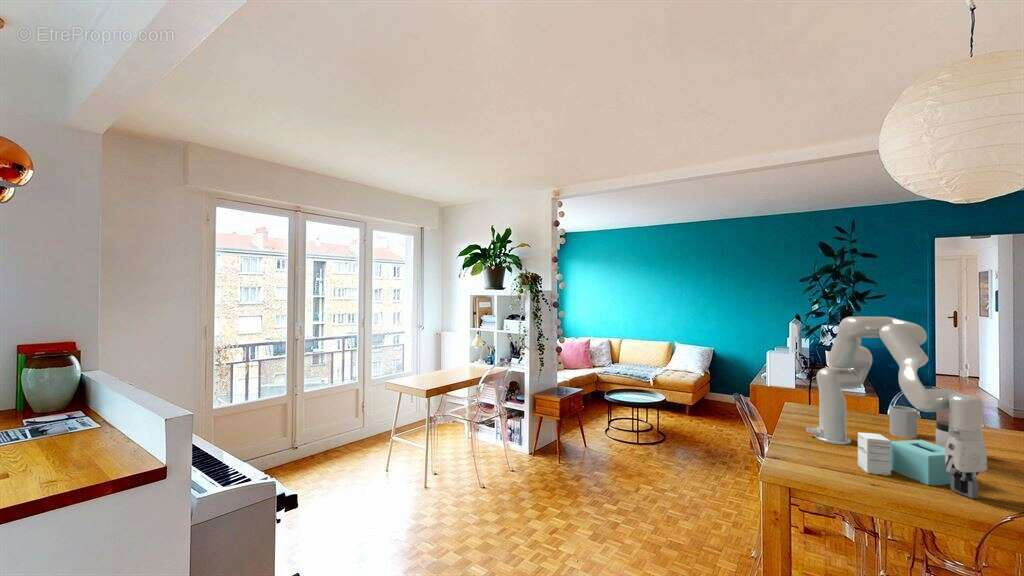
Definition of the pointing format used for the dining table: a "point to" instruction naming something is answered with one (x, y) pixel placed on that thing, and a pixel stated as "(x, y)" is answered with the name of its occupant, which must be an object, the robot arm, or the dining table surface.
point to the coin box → (920, 461)
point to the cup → (903, 422)
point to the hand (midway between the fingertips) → (964, 490)
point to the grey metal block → (971, 487)
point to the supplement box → (874, 453)
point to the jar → (942, 433)
